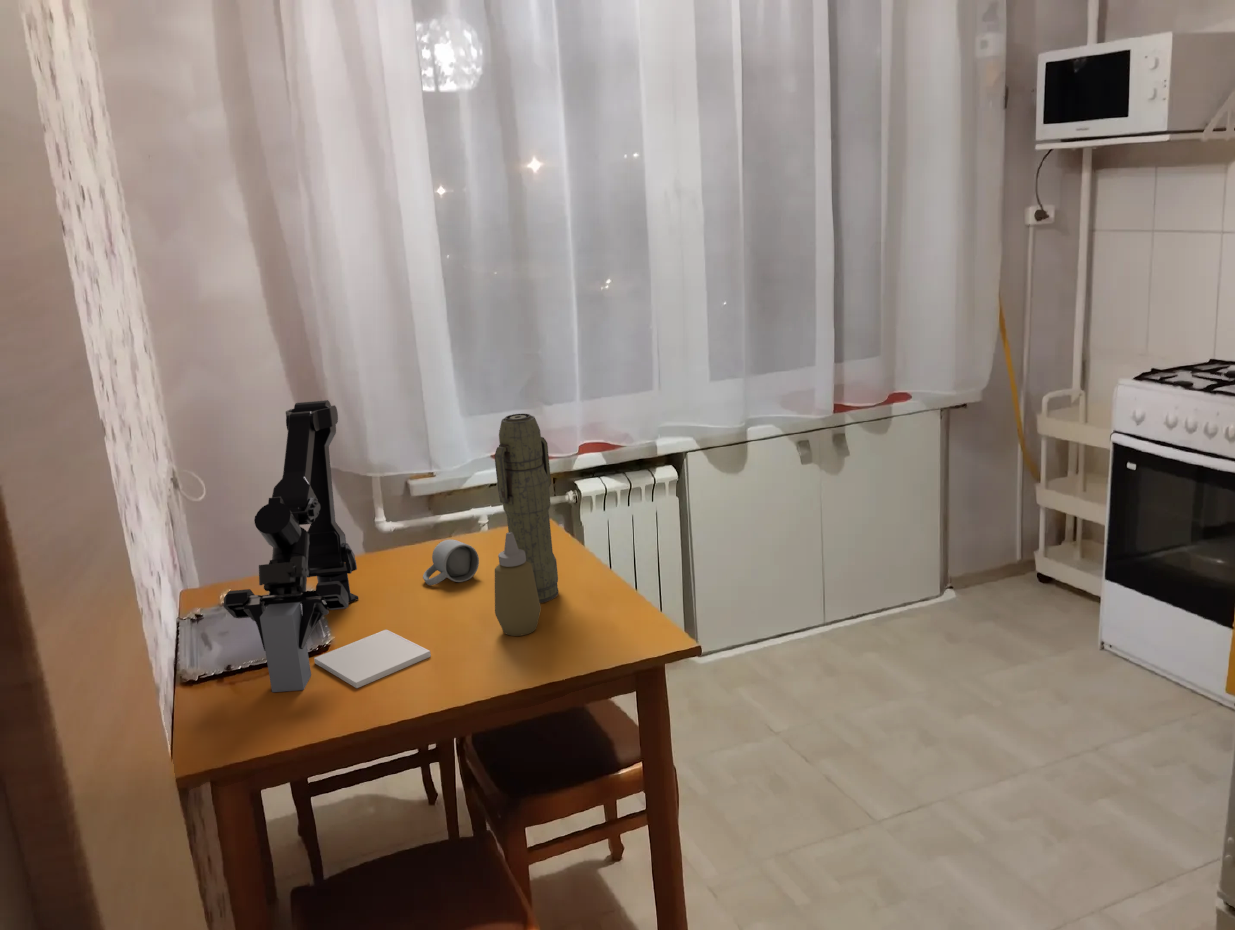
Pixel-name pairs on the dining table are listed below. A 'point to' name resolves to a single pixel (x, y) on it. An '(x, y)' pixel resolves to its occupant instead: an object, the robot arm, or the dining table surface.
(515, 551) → the squeeze bottle
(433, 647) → the dining table surface
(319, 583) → the robot arm
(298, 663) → the tall block
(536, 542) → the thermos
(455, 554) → the ceramic mug
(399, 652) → the white plate
